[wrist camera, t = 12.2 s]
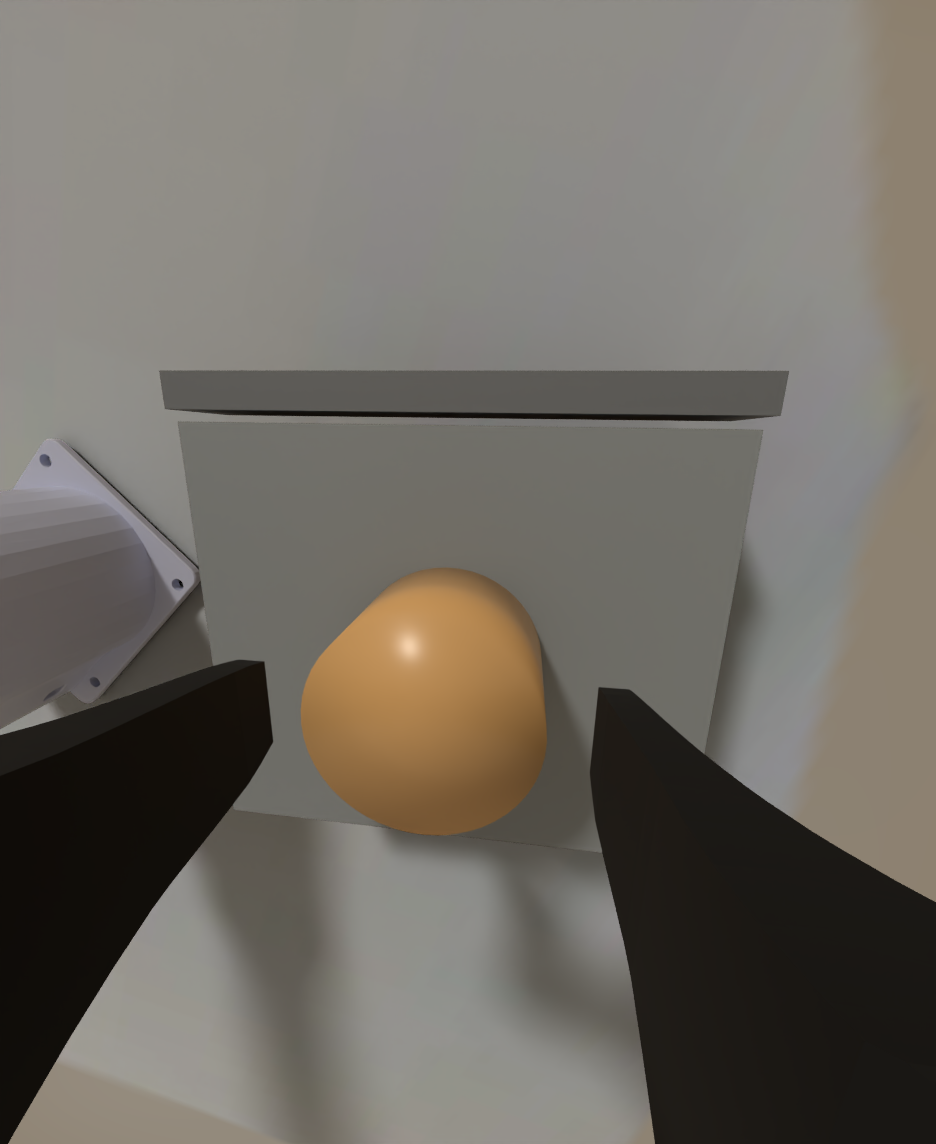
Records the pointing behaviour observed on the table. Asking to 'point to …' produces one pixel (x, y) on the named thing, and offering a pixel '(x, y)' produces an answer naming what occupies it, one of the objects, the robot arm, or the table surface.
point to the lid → (476, 541)
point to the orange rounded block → (431, 705)
